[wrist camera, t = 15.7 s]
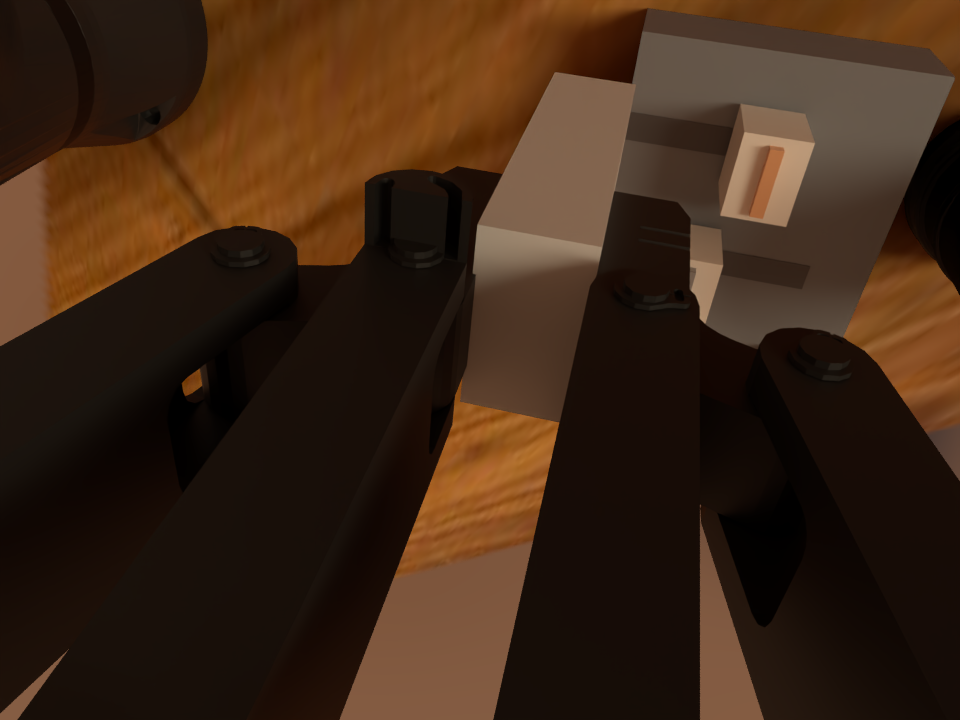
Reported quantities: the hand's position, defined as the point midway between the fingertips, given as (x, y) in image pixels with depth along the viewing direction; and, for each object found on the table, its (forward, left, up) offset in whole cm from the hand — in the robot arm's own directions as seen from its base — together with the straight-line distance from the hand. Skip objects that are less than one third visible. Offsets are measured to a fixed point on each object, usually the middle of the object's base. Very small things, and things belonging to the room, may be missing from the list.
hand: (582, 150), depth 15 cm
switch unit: (+7, -14, -30) cm, 35 cm away
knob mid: (+5, -14, -25) cm, 29 cm away
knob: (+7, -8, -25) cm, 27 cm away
